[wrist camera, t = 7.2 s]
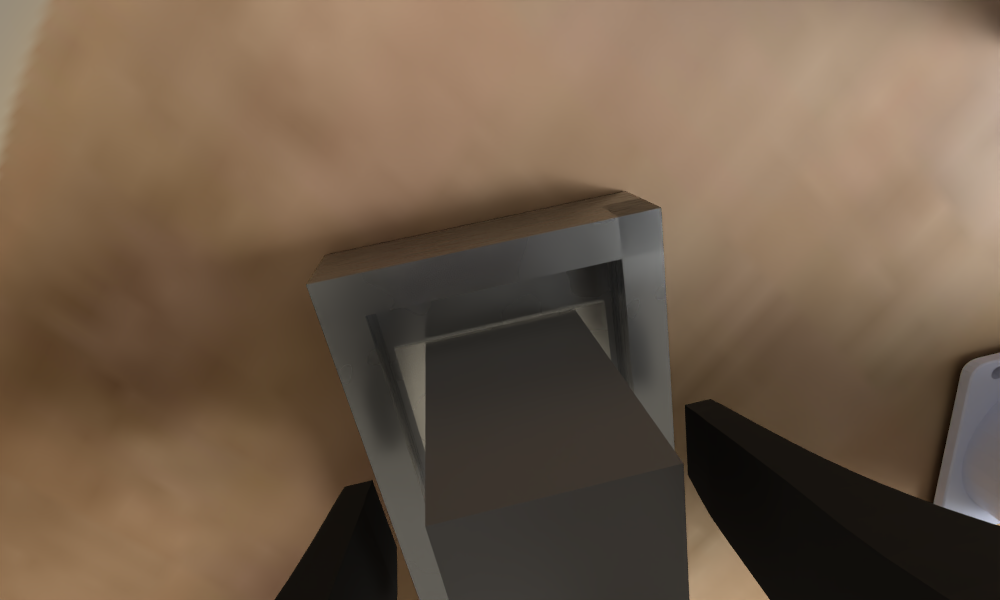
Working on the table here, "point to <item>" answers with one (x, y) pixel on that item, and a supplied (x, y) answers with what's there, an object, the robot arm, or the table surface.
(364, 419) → the rail
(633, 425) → the grey square block
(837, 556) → the robot arm
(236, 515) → the table surface
